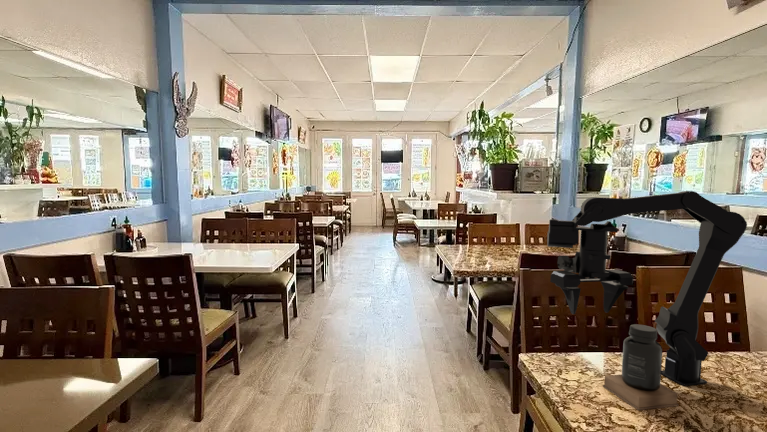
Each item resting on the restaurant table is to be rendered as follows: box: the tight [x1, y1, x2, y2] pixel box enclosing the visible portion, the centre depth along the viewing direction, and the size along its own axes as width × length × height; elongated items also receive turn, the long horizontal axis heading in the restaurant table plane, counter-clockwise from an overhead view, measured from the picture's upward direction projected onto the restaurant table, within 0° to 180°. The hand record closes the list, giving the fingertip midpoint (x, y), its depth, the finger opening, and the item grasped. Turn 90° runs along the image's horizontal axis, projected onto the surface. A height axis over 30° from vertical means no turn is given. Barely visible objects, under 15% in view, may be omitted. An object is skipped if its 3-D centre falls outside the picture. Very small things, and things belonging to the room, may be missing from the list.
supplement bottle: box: [621, 323, 663, 391], centre depth 83 cm, size 7×7×12 cm
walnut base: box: [602, 373, 679, 411], centre depth 83 cm, size 9×9×2 cm
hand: (589, 312), depth 97 cm, fingers open, 9 cm apart
